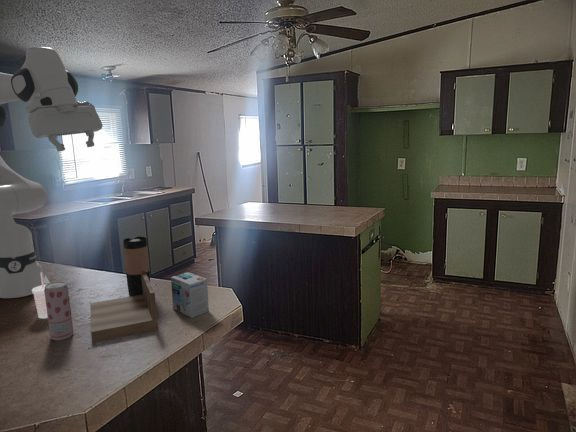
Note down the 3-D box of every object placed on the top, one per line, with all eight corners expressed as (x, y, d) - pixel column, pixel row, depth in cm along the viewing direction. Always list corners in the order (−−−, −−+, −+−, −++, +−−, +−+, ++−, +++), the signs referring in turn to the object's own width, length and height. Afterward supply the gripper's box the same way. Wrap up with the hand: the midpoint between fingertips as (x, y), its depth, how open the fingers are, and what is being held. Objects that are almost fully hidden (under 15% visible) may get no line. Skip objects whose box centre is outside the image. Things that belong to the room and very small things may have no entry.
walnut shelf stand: (91, 312, 132) (87, 278, 130) (147, 302, 139) (144, 270, 137) (92, 342, 112) (87, 304, 110) (157, 329, 120) (154, 292, 117)
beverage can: (49, 342, 113) (42, 290, 110) (51, 333, 118) (44, 283, 115) (73, 338, 115) (66, 286, 112) (74, 329, 120) (68, 280, 117)
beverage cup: (30, 318, 129) (24, 274, 126) (48, 310, 134) (42, 268, 131) (45, 320, 126) (39, 276, 124) (62, 312, 132) (57, 270, 129)
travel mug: (144, 299, 141) (139, 242, 137) (123, 298, 143) (118, 241, 139) (155, 291, 148) (151, 236, 145) (136, 290, 150) (131, 236, 146)
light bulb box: (172, 308, 134) (169, 276, 132) (190, 302, 138) (188, 271, 136) (191, 318, 126) (189, 284, 124) (209, 311, 131) (208, 278, 129)
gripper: (86, 104, 133) (101, 146, 134) (19, 108, 116) (37, 156, 118) (97, 97, 129) (113, 141, 131) (30, 100, 112) (48, 150, 114)
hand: (76, 148), depth 124 cm, fingers open, 8 cm apart
